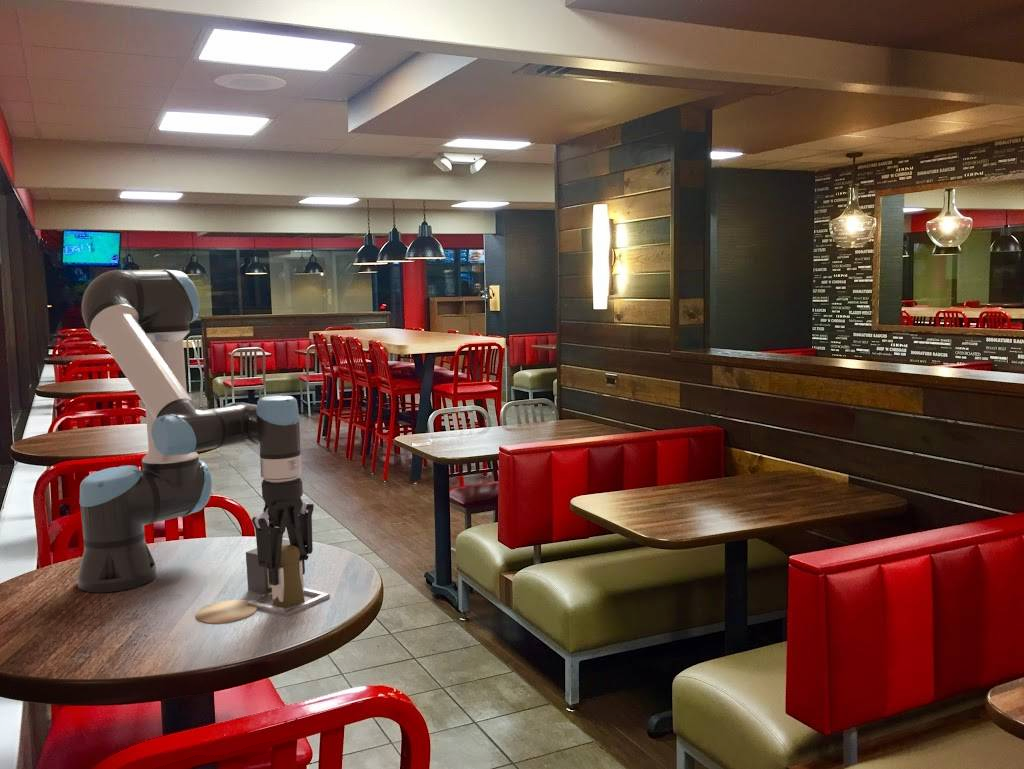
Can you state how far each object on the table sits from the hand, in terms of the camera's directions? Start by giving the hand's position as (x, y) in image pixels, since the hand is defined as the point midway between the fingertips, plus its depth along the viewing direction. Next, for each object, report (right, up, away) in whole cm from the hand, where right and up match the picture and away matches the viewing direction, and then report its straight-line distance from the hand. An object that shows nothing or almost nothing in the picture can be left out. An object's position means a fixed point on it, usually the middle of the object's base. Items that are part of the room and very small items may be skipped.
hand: (288, 595), depth 171 cm
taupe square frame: (0, -1, 0) cm, 1 cm away
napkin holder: (-5, 0, +10) cm, 11 cm away
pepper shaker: (0, -1, 0) cm, 1 cm away
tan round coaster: (-11, -2, -4) cm, 12 cm away
